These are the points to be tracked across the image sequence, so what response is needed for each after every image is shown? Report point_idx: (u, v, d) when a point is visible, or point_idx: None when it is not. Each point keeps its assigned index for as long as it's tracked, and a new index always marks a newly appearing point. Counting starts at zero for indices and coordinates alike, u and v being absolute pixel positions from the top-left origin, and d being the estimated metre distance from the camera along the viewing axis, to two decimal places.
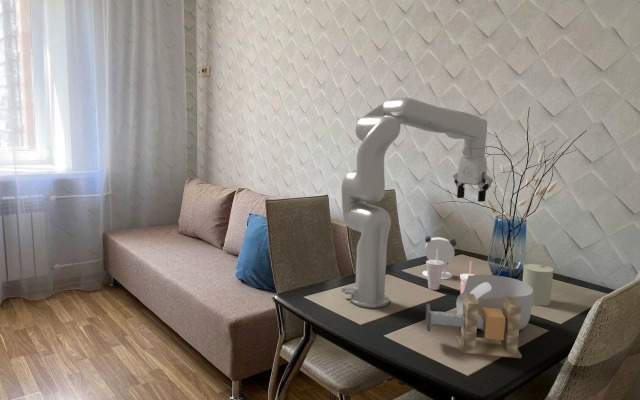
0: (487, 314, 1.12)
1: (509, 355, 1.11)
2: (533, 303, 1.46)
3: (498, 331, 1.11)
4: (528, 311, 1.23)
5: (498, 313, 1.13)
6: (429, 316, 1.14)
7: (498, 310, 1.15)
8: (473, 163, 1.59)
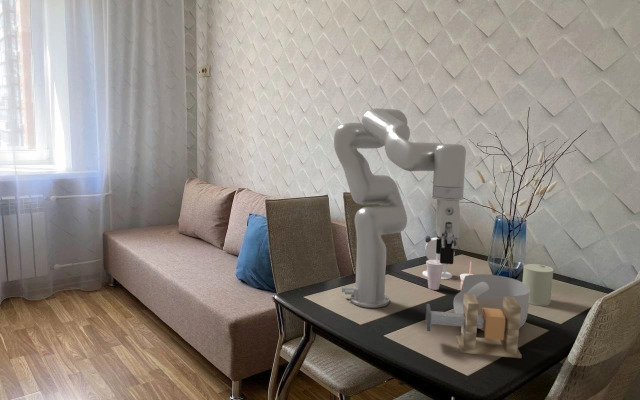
0: (487, 314, 1.12)
1: (509, 355, 1.11)
2: (533, 303, 1.46)
3: (498, 331, 1.11)
4: (525, 310, 1.23)
5: (498, 313, 1.13)
6: (429, 316, 1.14)
7: (498, 310, 1.15)
8: None
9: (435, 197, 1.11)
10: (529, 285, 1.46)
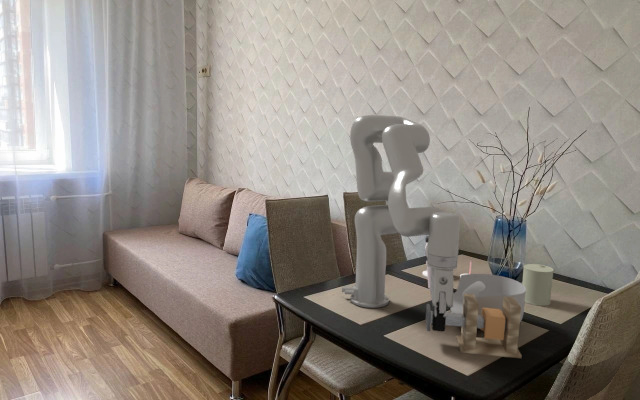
0: (487, 314, 1.12)
1: (509, 355, 1.11)
2: (533, 303, 1.46)
3: (498, 331, 1.11)
4: (521, 309, 1.24)
5: (498, 313, 1.13)
6: (429, 316, 1.14)
7: (498, 310, 1.15)
8: None
9: (429, 265, 1.13)
10: (529, 285, 1.46)
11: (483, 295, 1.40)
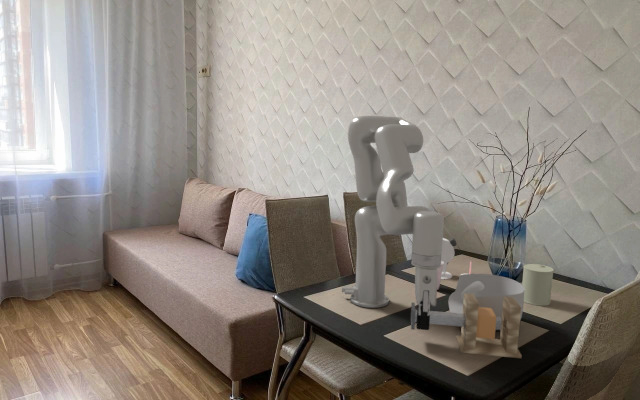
0: (478, 313, 1.13)
1: (509, 355, 1.11)
2: (533, 303, 1.46)
3: (489, 330, 1.12)
4: None
5: (489, 312, 1.13)
6: (413, 315, 1.14)
7: (489, 309, 1.15)
8: None
9: (413, 264, 1.13)
10: (529, 285, 1.46)
11: (482, 295, 1.41)
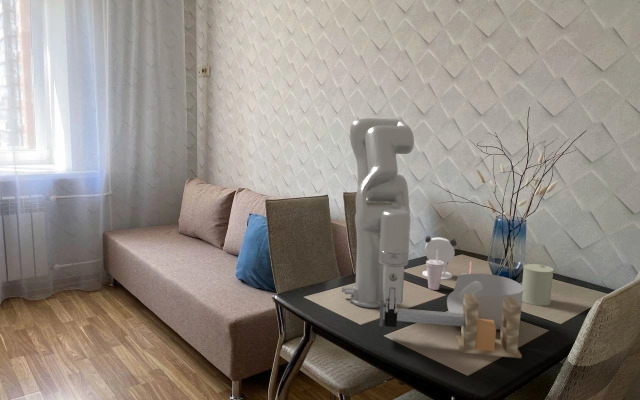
0: (478, 325, 1.13)
1: (509, 355, 1.11)
2: (533, 303, 1.46)
3: (489, 342, 1.12)
4: None
5: (490, 324, 1.13)
6: (381, 312, 1.15)
7: (491, 321, 1.15)
8: None
9: (381, 262, 1.15)
10: (529, 285, 1.46)
11: (480, 295, 1.41)
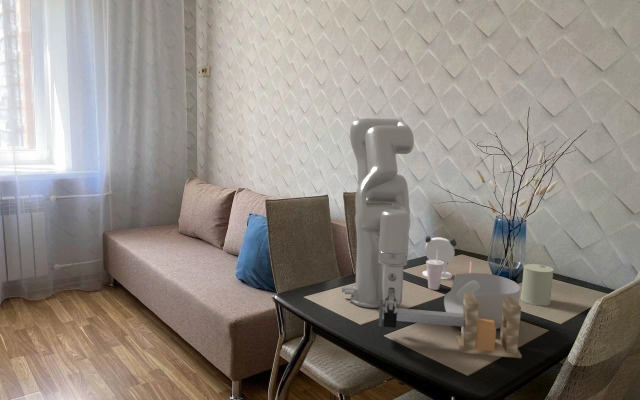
0: (478, 325, 1.13)
1: (509, 355, 1.11)
2: (533, 303, 1.46)
3: (489, 342, 1.12)
4: None
5: (490, 324, 1.13)
6: (380, 312, 1.16)
7: (491, 321, 1.15)
8: None
9: (380, 262, 1.15)
10: (529, 285, 1.46)
11: (477, 294, 1.41)
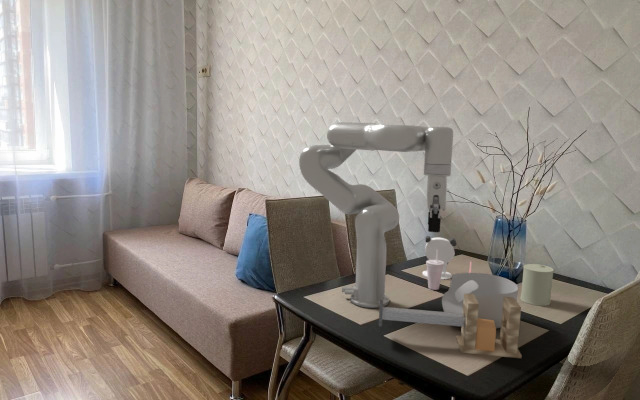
0: (478, 325, 1.13)
1: (509, 355, 1.11)
2: (533, 303, 1.46)
3: (489, 342, 1.12)
4: None
5: (490, 324, 1.13)
6: (380, 312, 1.16)
7: (491, 321, 1.15)
8: None
9: (425, 173, 1.27)
10: (529, 285, 1.46)
11: (475, 294, 1.41)
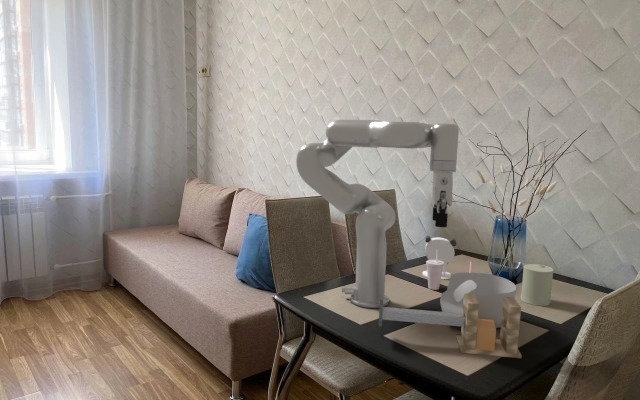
0: (478, 325, 1.13)
1: (509, 355, 1.11)
2: (533, 303, 1.46)
3: (489, 342, 1.12)
4: None
5: (490, 324, 1.13)
6: (380, 312, 1.16)
7: (491, 321, 1.15)
8: None
9: (432, 169, 1.29)
10: (529, 285, 1.46)
11: (473, 293, 1.42)
